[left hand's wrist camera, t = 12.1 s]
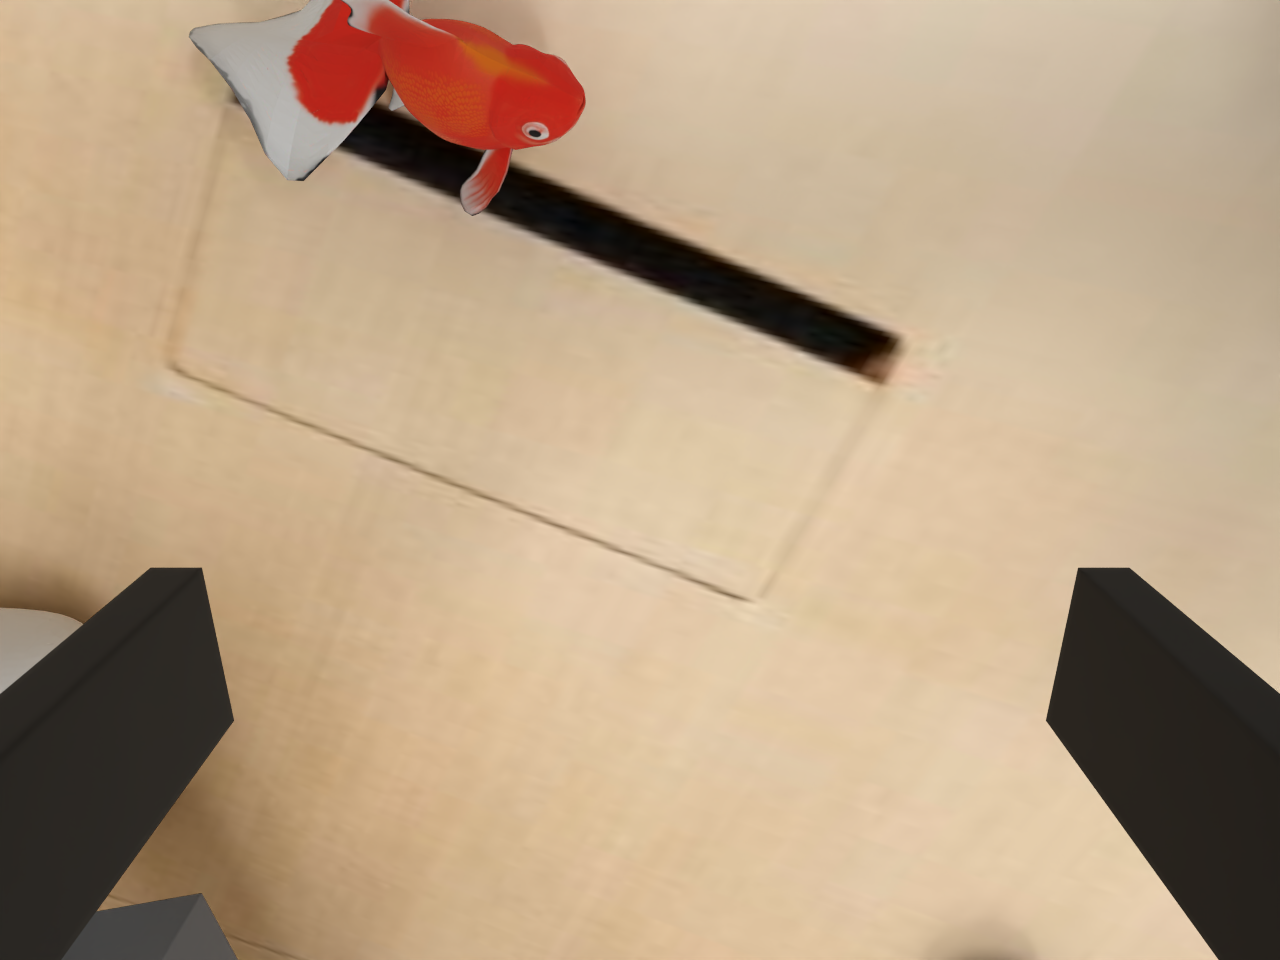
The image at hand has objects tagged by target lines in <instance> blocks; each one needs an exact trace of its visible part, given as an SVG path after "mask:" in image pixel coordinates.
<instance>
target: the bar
mask: <svg viewBox="0 0 1280 960" xmlns="http://www.w3.org/2000/svg"><path fill="white" fill-rule="evenodd" d="M62 960H238V959H237V957H236V955H235V954H234V952H233V950H232V948H231V946H230V944H229V942H228V941H227V939H226V937H225V935H224V933H223V931H222V930H221V928H220V926H219V924H218V922H217V920H216V918H215V917H214V915H213V913H212V911H211V909H210V907H209V906H208V904H207V902H206V900H205V898H204V896H203V894H202V893H199V894H193V895H188V896H182V897H176V898H171V899H165V900H159V901H153V902H148V903H142V904H136V905H131V906H125V907H119V908H113V909H108V910H102V911H96V912H95V914H94V915H93V917H92V918H91V919H90V921H89V922H88V923H87V925H86V926H85V928H84V929H83V930H82V932H81V933H80V935H79V936H78V937H77V939H76V940H75V942H74V943H73V944H72V946H71V947H70V948H69V950H68V951H67V953H66V954H65V955H64V957H63V958H62Z"/></svg>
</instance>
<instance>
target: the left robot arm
mask: <svg viewBox="0 0 1280 960" xmlns="http://www.w3.org/2000/svg"><path fill="white" fill-rule="evenodd" d="M233 721H234V718H233V714H232V709H231V704H230V699H229V695H228V690H227V685H226V680H225V676H224V671H223V666H222V661H221V657H220V652H219V647H218V642H217V638H216V633H215V628H214V623H213V619H212V614H211V609H210V604H209V600H208V595H207V590H206V585H205V581H204V576H203V571H202V568H150V569H149V570H147V571H146V572H145V573H144V574H143V575H141V576H140V577H139V578H138V579H137V580H136V581H134V582H133V583H132V584H131V585H130V586H128V587H127V588H126V589H125V590H124V591H122V592H121V593H120V594H119V595H118V596H116V597H115V598H114V599H113V600H112V601H110V602H109V603H108V604H107V605H106V606H104V607H103V608H102V609H101V610H100V611H99V612H97V613H96V614H95V615H94V616H93V617H91V618H90V619H89V620H88V621H87V622H85V623H84V624H83V625H82V626H81V627H79V628H78V629H77V630H76V631H75V632H73V633H72V634H71V635H70V636H69V637H67V638H66V639H65V640H64V641H63V642H61V643H60V644H59V645H58V646H57V647H56V648H54V649H53V650H52V651H51V652H50V653H48V654H47V655H46V656H45V657H44V658H42V659H41V660H40V661H39V662H38V663H36V664H35V665H34V666H33V667H32V668H30V669H29V670H28V671H27V672H26V673H24V674H23V675H22V676H21V677H20V678H19V679H17V680H16V681H15V682H14V683H13V684H11V685H10V686H9V687H8V688H7V689H5V690H4V691H3V692H2V693H1V694H0V960H62V958H63V957H64V955H65V954H66V953H67V951H68V950H69V948H70V947H71V946H72V944H73V943H74V942H75V940H76V939H77V937H78V936H79V935H80V933H81V932H82V930H83V929H84V928H85V926H86V925H87V923H88V922H89V921H90V919H91V918H92V917H93V915H94V914H95V912H96V911H97V910H98V908H99V907H100V905H101V904H102V903H103V901H104V900H105V899H106V897H107V896H108V894H109V893H110V892H111V890H112V889H113V887H114V886H115V885H116V883H117V882H118V881H119V879H120V878H121V876H122V875H123V874H124V872H125V871H126V869H127V868H128V867H129V865H130V864H131V863H132V861H133V860H134V858H135V857H136V856H137V854H138V853H139V851H140V850H141V849H142V847H143V846H144V845H145V843H146V842H147V840H148V839H149V838H150V836H151V835H152V833H153V832H154V831H155V829H156V828H157V826H158V825H159V824H160V822H161V821H162V820H163V818H164V817H165V815H166V814H167V813H168V811H169V810H170V808H171V807H172V806H173V804H174V803H175V802H176V800H177V799H178V797H179V796H180V795H181V793H182V792H183V790H184V789H185V788H186V786H187V785H188V784H189V782H190V781H191V779H192V778H193V777H194V775H195V774H196V772H197V771H198V770H199V768H200V767H201V766H202V764H203V763H204V761H205V760H206V759H207V757H208V756H209V754H210V753H211V752H212V750H213V749H214V747H215V746H216V745H217V743H218V742H219V741H220V739H221V738H222V736H223V735H224V734H225V732H226V731H227V729H228V728H229V727H230V725H231V724H232V723H233ZM1046 721H1047V723H1048V724H1049V725H1050V727H1051V728H1052V729H1053V731H1054V732H1055V734H1056V735H1057V736H1058V738H1059V739H1060V741H1061V742H1062V743H1063V745H1064V746H1065V748H1066V749H1067V750H1068V752H1069V753H1070V754H1071V756H1072V757H1073V759H1074V760H1075V761H1076V763H1077V764H1078V766H1079V767H1080V768H1081V770H1082V771H1083V772H1084V774H1085V775H1086V777H1087V778H1088V779H1089V781H1090V782H1091V784H1092V785H1093V786H1094V788H1095V789H1096V790H1097V792H1098V793H1099V795H1100V796H1101V797H1102V799H1103V800H1104V802H1105V803H1106V804H1107V806H1108V807H1109V808H1110V810H1111V811H1112V813H1113V814H1114V815H1115V817H1116V818H1117V820H1118V821H1119V822H1120V824H1121V825H1122V826H1123V828H1124V829H1125V831H1126V832H1127V833H1128V835H1129V836H1130V838H1131V839H1132V840H1133V842H1134V843H1135V845H1136V846H1137V847H1138V849H1139V850H1140V851H1141V853H1142V854H1143V856H1144V857H1145V858H1146V860H1147V861H1148V863H1149V864H1150V865H1151V867H1152V868H1153V869H1154V871H1155V872H1156V874H1157V875H1158V876H1159V878H1160V879H1161V881H1162V882H1163V883H1164V885H1165V886H1166V887H1167V889H1168V890H1169V892H1170V893H1171V894H1172V896H1173V897H1174V899H1175V900H1176V901H1177V903H1178V904H1179V905H1180V907H1181V908H1182V910H1183V911H1184V912H1185V914H1186V915H1187V917H1188V918H1189V919H1190V921H1191V922H1192V923H1193V925H1194V926H1195V928H1196V929H1197V930H1198V932H1199V933H1200V935H1201V936H1202V937H1203V939H1204V940H1205V942H1206V943H1207V944H1208V946H1209V947H1210V948H1211V950H1212V951H1213V953H1214V954H1215V955H1216V957H1217V958H1218V960H1280V694H1279V693H1278V692H1277V691H1276V690H1275V689H1273V688H1272V687H1271V686H1270V685H1269V684H1267V683H1266V682H1265V681H1264V680H1263V679H1261V678H1260V677H1259V676H1258V675H1257V674H1256V673H1254V672H1253V671H1252V670H1251V669H1250V668H1248V667H1247V666H1246V665H1245V664H1244V663H1242V662H1241V661H1240V660H1239V659H1238V658H1236V657H1235V656H1234V655H1233V654H1232V653H1230V652H1229V651H1228V650H1227V649H1226V648H1224V647H1223V646H1222V645H1221V644H1220V643H1219V642H1217V641H1216V640H1215V639H1214V638H1213V637H1211V636H1210V635H1209V634H1208V633H1207V632H1205V631H1204V630H1203V629H1202V628H1201V627H1199V626H1198V625H1197V624H1196V623H1195V622H1193V621H1192V620H1191V619H1190V618H1189V617H1187V616H1186V615H1185V614H1184V613H1183V612H1181V611H1180V610H1179V609H1178V608H1177V607H1176V606H1174V605H1173V604H1172V603H1171V602H1170V601H1168V600H1167V599H1166V598H1165V597H1164V596H1162V595H1161V594H1160V593H1159V592H1158V591H1156V590H1155V589H1154V588H1153V587H1152V586H1150V585H1149V584H1148V583H1147V582H1146V581H1144V580H1143V579H1142V578H1141V577H1140V576H1139V575H1137V574H1136V573H1135V572H1134V571H1133V570H1131V569H1130V568H1078V571H1077V576H1076V581H1075V585H1074V590H1073V595H1072V600H1071V604H1070V609H1069V614H1068V619H1067V623H1066V628H1065V633H1064V638H1063V642H1062V647H1061V652H1060V657H1059V661H1058V666H1057V671H1056V676H1055V680H1054V685H1053V690H1052V695H1051V699H1050V704H1049V709H1048V714H1047V718H1046Z"/></svg>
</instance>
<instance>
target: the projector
mask: <svg viewBox="0 0 1280 960" xmlns="http://www.w3.org/2000/svg"><path fill="white" fill-rule="evenodd" d="M82 625H83V623H81V622H79V621H77V620H75V619H73V618H71V617H68V616H65V615H62V614H58V613H53V612H48V611H41V610H30V609H19V608H0V694H1V693H2V692H3V691H4V690H5V689H7V688H8V687H9V686H10V685H11V684H13V683H14V682H15V681H16V680H17V679H19V678H20V677H21V676H22V675H23V674H24V673H26V672H27V671H28V670H29V669H30V668H32V667H33V666H34V665H35V664H36V663H38V662H39V661H40V660H41V659H42V658H44V657H45V656H46V655H47V654H48V653H50V652H51V651H52V650H53V649H54V648H56V647H57V646H58V645H59V644H60V643H61V642H63V641H64V640H65V639H66V638H67V637H69V636H70V635H71V634H72V633H73V632H75V631H76V630H77V629H78V628H79V627H81V626H82Z"/></svg>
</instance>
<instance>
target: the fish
mask: <svg viewBox="0 0 1280 960" xmlns="http://www.w3.org/2000/svg"><path fill="white" fill-rule="evenodd" d="M189 38H190V39H191V40H192V42H193V43H194V44H195V46H196V47H197V48H198V49H199V50H200V51H201V52H202V53H203V54H204V55H205V56H206V57H207V58H208V59H209V60H210V61H211V62H212V64H213V65H214V66H215V68H216V69H217V70H218V71H219V73H220V74H221V75H222V77H223V78H224V79H225V81H226V82H227V83H228V84H229V86H230V87H231V89H232V90H233V92H234V94H235V95H236V97H237V99H238V100H239V102H240V104H241V105H242V107H243V109H244V110H245V112H246V114H247V115H248V117H249V118H250V120H251V122H252V125H253V127H254V129H255V132H256V134H257V136H258V139H259V141H260V143H261V145H262V148H263V150H264V152H265V154H266V156H267V157H268V158H269V159H270V160H271V162H272V163H273V164H274V165H275V166H276V167H277V169H278V170H279V171H280V172H281V173H282V174H283V176H284V177H285V178H286V179H287V180H295V181H304V180H305V179H306V178H307V177H308V176H309V175H310V174H311V173H312V172H313V171H314V170H315V169H316V168H317V167H318V166H319V165H320V164H321V163H322V162H323V161H324V160H325V159H326V158H327V157H328V156H329V155H330V154H331V153H332V152H333V151H334V150H335V149H336V148H337V147H338V146H339V145H340V144H341V143H342V142H343V141H344V140H345V138H346V137H347V136H348V135H349V134H350V133H351V131H352V130H353V129H354V128H355V127H356V126H357V124H358V123H359V122H360V121H361V120H362V118H363V117H364V116H365V115H366V114H367V112H368V111H369V110H370V109H371V108H372V106H373V105H374V104H375V103H376V101H377V100H378V99H379V98H380V97H381V95H382V94H383V93H384V92H385V90H386V87H387V84H388V80H390V81H391V83H392V85H393V87H394V88H393V94H392V98H391V102H390V105H389V109H390V110H392V111H393V110H395V109H397V108H400V107H402V106H406V108H407V109H408V110H409V112H410V113H411V114H412V115H413V116H414V117H415V118H417V119H418V120H419V121H420V122H421V123H422V124H423V125H424V126H425V127H427V128H428V129H429V130H430V131H432V132H433V133H435V134H436V135H437V136H439V137H441V138H443V139H444V140H447V141H449V142H452V143H455V144H459V145H463V146H467V147H471V148H475V149H482V150H485V152H484V154H483V156H482V158H481V160H480V162H479V164H478V166H477V169H476V170H475V171H474V172H473V174H472V175H471V176H470V177H469V178H468V179H467V180H466V181H465V182H464V183H463V184H462V186H461V189H460V198H461V204H462V206H463V208H464V210H465V212H467V213H468V214H470V215H472V216H474V215H476V214H479V213H480V212H481V211H482V210H484V209H485V208H486V207H487V206H488V204H489V202H490V201H491V199H492V198H493V197H494V196H495V195H496V194H497V193H498V192H499V190H500V188H501V185H502V183H503V181H504V179H505V176H506V174H507V171H508V167H509V163H510V159H511V154H512V150H513V149H515V150H517V149H522V148H528V147H533V146H541V145H546V144H549V143H551V142H554V141H557V140H558V139H559V138H561V137H562V136H563V135H564V134H566V133H567V132H568V131H570V130H571V129H572V128H573V127H574V125H575V124H576V123H577V121H578V119H579V117H580V115H581V114H582V112H583V110H584V107H585V93H584V90H583V88H582V86H581V85H580V83H579V82H578V81H577V79H576V78H575V76H574V75H573V73H572V72H571V70H570V68H569V67H568V65H567V64H566V62H565V61H564V60H563V59H561V58H560V57H558V56H555V55H550V54H545V53H542V52H540V51H538V50H536V49H534V48H532V47H530V46H526V45H522V44H517V45H512V44H510V43H509V42H507V41H506V40H504V39H503V38H501V37H499V36H498V35H496V34H494V33H493V32H491V31H489V30H488V29H486V28H483V27H481V26H478V25H475V24H472V23H468V22H463V21H458V20H450V19H424V20H420V19H418V18H416V17H414V16H412V15H410V14H409V0H310V1H309V2H308V4H307V5H306V6H305V7H304V8H303V9H302V10H300V11H297V12H294V13H291V14H288V15H285V16H282V17H278V18H274V19H270V20H267V21H263V22H250V23H224V24H214V25H208V26H203V27H197V28H194V29H193V30H192V31H191V32H190V34H189Z"/></svg>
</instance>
